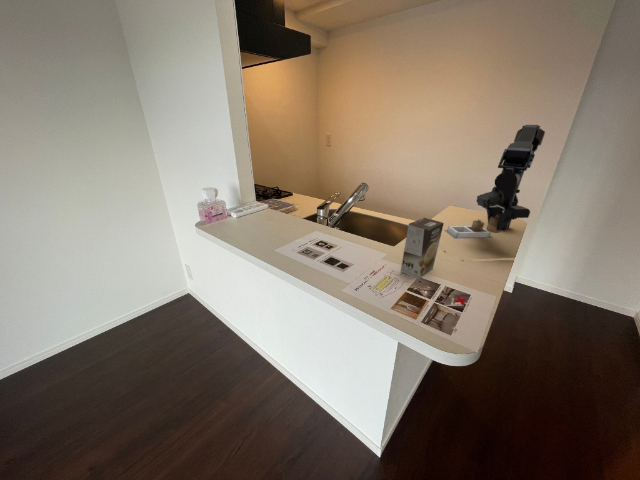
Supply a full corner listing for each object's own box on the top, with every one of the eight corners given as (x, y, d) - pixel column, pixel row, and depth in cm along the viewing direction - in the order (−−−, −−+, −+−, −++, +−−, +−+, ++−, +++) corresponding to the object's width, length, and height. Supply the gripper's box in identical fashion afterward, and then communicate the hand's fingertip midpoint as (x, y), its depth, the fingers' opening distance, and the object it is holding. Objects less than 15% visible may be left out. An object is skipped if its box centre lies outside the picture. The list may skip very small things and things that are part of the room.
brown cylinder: (494, 228, 96) (499, 213, 93) (502, 232, 92) (507, 217, 89) (484, 228, 95) (488, 213, 93) (491, 233, 92) (496, 217, 89)
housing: (479, 231, 110) (481, 225, 109) (492, 239, 102) (494, 233, 101) (443, 232, 109) (444, 225, 107) (454, 240, 101) (455, 233, 100)
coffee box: (418, 280, 76) (428, 230, 69) (399, 271, 80) (407, 223, 73) (433, 269, 81) (444, 222, 75) (415, 262, 86) (423, 216, 79)
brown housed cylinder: (476, 231, 107) (480, 218, 105) (483, 235, 104) (487, 221, 101) (467, 231, 107) (471, 218, 104) (473, 235, 103) (477, 221, 101)
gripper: (468, 179, 95) (458, 219, 101) (505, 192, 78) (490, 239, 84) (497, 179, 95) (485, 218, 102) (539, 192, 78) (521, 238, 85)
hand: (493, 228), depth 93 cm, fingers closed on brown cylinder, 4 cm apart
